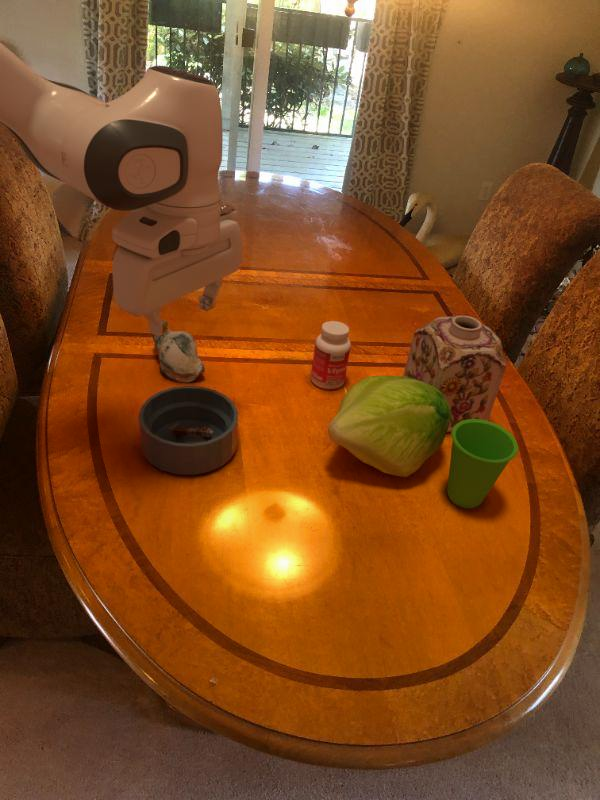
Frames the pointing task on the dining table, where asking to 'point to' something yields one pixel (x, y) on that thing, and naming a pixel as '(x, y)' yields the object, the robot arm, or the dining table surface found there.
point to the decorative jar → (459, 364)
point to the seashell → (178, 356)
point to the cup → (477, 460)
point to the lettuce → (391, 423)
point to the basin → (189, 412)
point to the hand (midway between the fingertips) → (184, 320)
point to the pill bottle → (331, 355)
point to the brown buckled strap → (191, 432)
